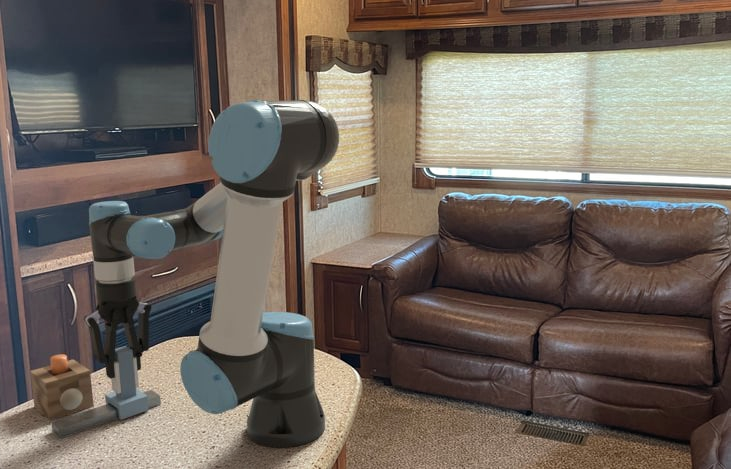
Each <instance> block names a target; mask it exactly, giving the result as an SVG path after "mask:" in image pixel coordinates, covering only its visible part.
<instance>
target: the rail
mask: <svg viewBox="0 0 731 469" xmlns="http://www.w3.org/2000/svg"><path fill="white" fill-rule="evenodd" d="M142 393H144V394H146V395H147V396H148V407H149V409H151V408H153V407H157V406H159V405H162V402H161V395H160V394H159V393H157V392H156V391H154V390H152V389H150V390H146V391H143V392H142ZM116 420H119V415H118V409H117V408H116V407H115V406H113V405H112V404H110V403H109V404H106V403H105V404H104V405H99V406H97V407H94V408H92V409H88V410H85V411H82V412H79V413H76V414H72V415H69V416H67V417H64V418H59V419H58V420H54V421H52V422H51V431H52V433H53V434H54V435H56V437H58V438H59V439H60V440H61V439H63V438H66V437H69V436H72V435H75V434H78V433H81V432H83V431H87V430H90V429H93V428H96V427H98V426H101V425H104V424H106V423H107V424H108V423H110V422H112V421H116Z"/></svg>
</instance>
